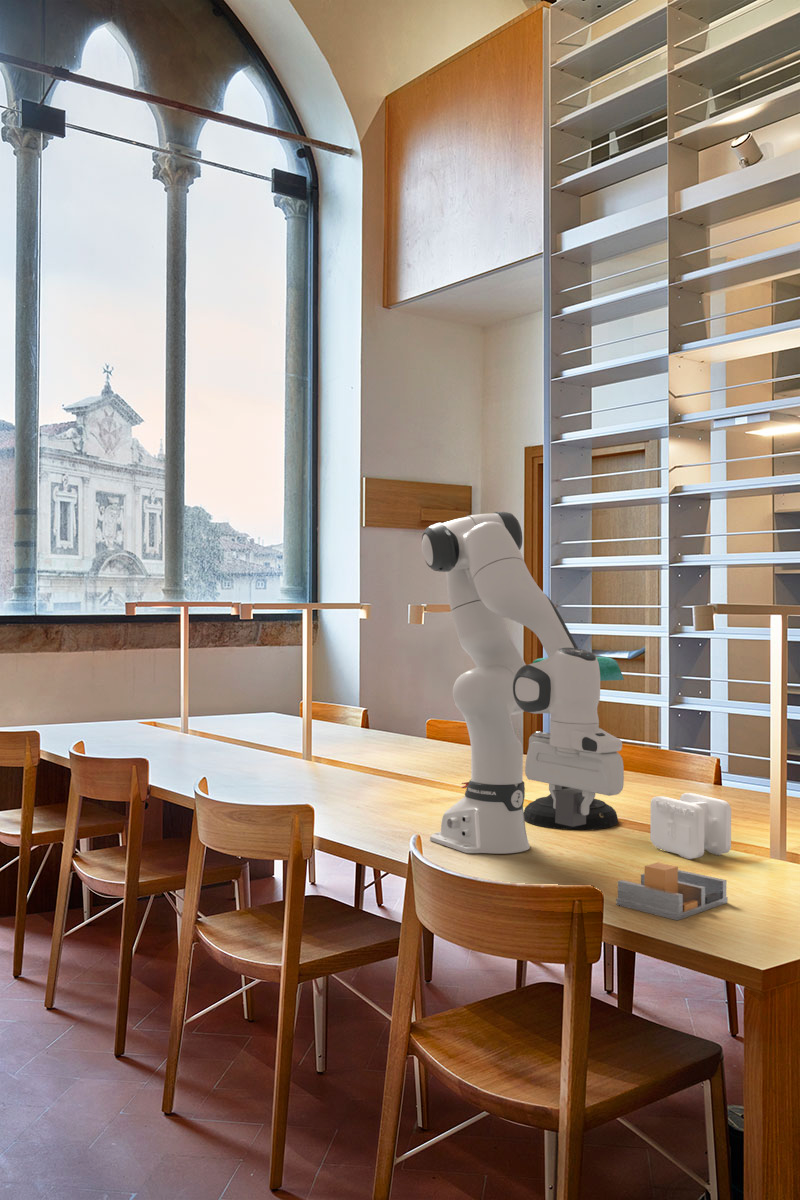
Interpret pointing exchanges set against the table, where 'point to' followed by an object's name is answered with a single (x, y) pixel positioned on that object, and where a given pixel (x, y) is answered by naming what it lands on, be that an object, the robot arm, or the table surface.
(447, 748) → the table surface
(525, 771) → the robot arm
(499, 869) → the table surface
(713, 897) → the gray divided tray
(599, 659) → the banker's lamp
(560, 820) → the dark gray block
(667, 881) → the orange block
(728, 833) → the cable organizer
